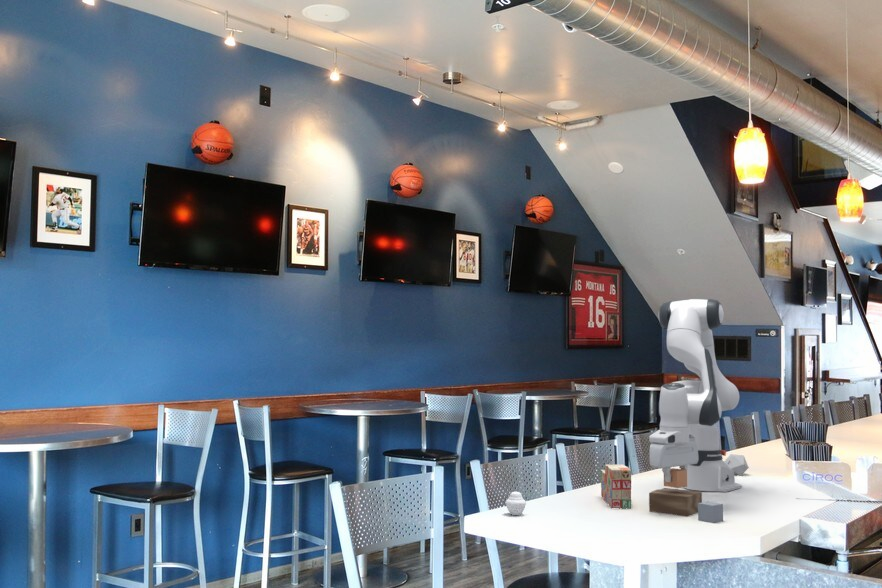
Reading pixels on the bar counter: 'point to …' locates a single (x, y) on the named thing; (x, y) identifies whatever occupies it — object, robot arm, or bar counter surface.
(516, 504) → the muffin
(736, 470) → the die
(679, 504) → the walnut block
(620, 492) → the stack of blocks
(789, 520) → the bar counter surface
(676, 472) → the rust cube
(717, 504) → the grey cube
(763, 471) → the bar counter surface
